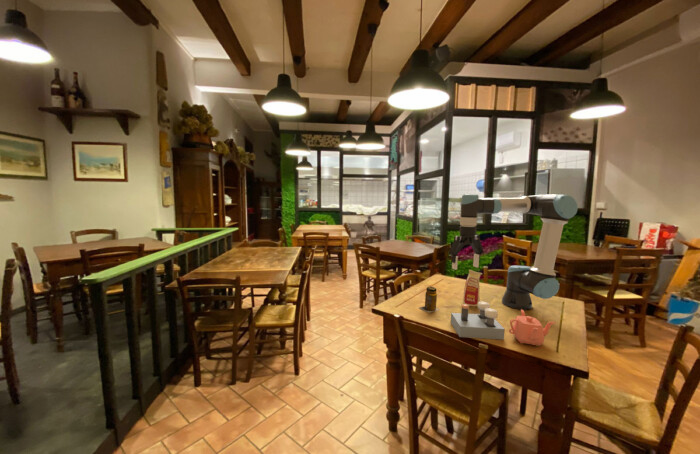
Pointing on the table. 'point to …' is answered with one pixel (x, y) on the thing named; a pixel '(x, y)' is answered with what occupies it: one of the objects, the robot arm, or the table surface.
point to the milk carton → (472, 289)
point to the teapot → (529, 329)
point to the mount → (476, 327)
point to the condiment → (430, 300)
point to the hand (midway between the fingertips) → (465, 268)
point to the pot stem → (464, 312)
